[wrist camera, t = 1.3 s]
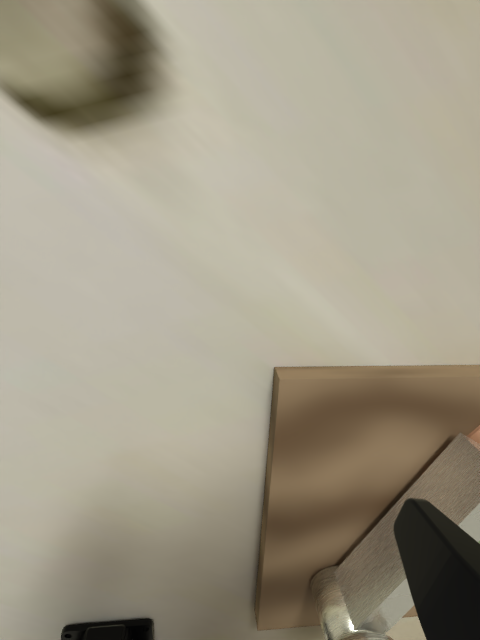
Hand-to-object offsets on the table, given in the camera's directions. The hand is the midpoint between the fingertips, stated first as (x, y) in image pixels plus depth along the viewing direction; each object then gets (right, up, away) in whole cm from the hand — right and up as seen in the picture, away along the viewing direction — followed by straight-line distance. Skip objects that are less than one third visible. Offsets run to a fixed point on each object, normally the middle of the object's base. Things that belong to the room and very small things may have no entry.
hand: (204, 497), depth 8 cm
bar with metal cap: (+10, -10, +17) cm, 23 cm away
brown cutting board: (+13, -9, +19) cm, 25 cm away
